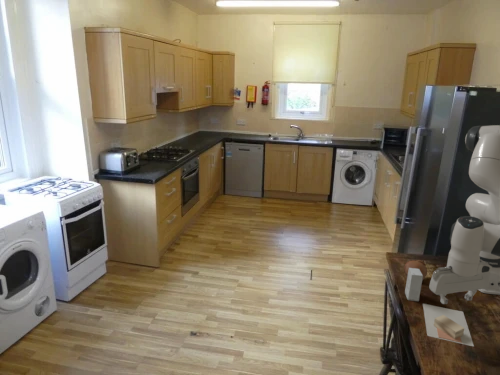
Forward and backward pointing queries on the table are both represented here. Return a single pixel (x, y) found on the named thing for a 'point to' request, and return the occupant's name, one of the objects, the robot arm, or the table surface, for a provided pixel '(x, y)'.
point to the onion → (418, 265)
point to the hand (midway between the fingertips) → (455, 301)
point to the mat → (454, 315)
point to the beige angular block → (449, 326)
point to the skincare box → (413, 284)
